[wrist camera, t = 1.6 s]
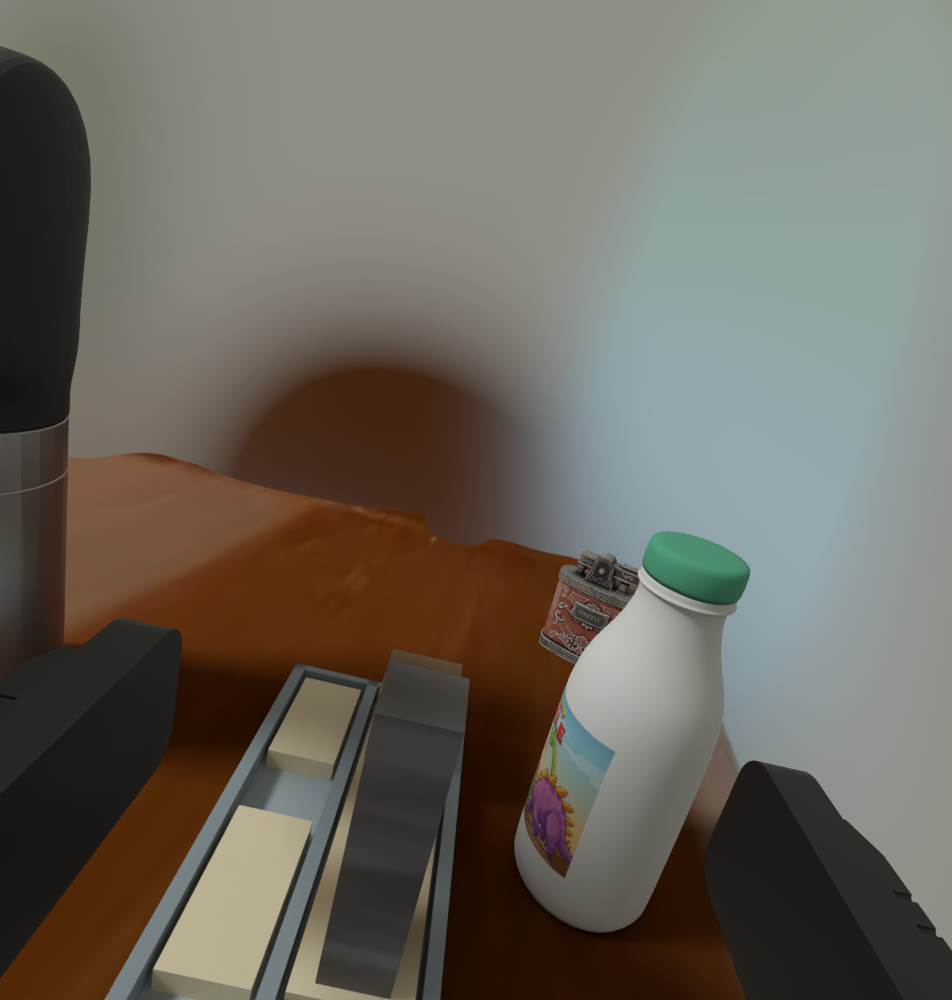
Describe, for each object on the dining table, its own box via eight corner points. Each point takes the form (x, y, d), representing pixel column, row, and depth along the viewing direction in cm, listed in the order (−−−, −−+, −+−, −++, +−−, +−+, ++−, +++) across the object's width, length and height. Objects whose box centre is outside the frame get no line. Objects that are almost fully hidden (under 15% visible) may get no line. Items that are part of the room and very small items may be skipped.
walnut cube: (440, 773, 36) (457, 710, 34) (364, 756, 36) (378, 692, 34) (447, 722, 40) (462, 664, 39) (379, 707, 40) (392, 648, 39)
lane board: (368, 1630, 14) (385, 1598, 13) (-170, 1533, 14) (-179, 1495, 13) (461, 725, 43) (467, 702, 43) (292, 687, 43) (296, 663, 42)
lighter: (533, 644, 56) (563, 545, 53) (546, 630, 59) (575, 536, 56) (616, 684, 53) (653, 582, 50) (626, 668, 56) (662, 571, 53)
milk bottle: (645, 842, 37) (770, 547, 31) (647, 964, 30) (811, 612, 24) (523, 795, 39) (620, 502, 32) (497, 901, 31) (616, 551, 25)
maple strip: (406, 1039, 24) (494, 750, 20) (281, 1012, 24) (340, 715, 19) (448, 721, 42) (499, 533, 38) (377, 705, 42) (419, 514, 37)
